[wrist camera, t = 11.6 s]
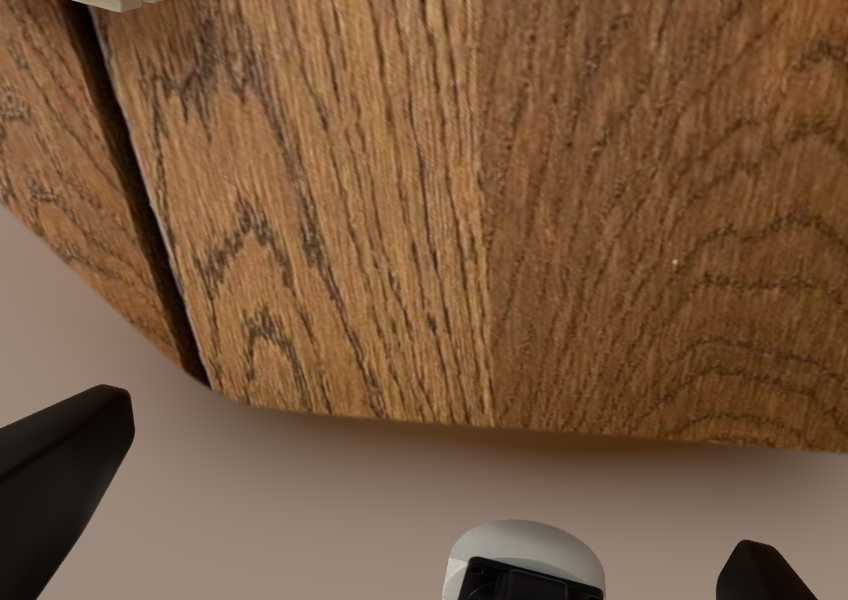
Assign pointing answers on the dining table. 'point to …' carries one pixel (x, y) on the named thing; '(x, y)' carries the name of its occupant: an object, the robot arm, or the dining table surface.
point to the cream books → (118, 4)
